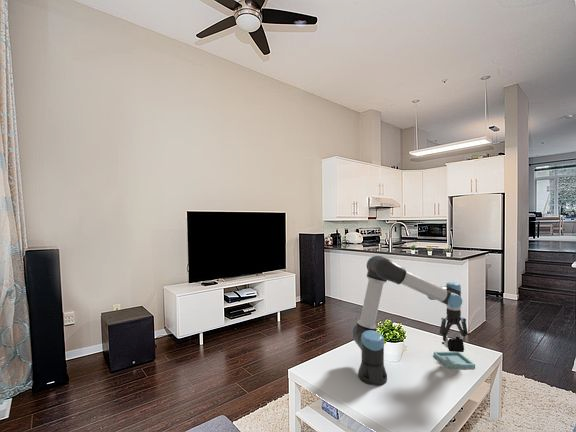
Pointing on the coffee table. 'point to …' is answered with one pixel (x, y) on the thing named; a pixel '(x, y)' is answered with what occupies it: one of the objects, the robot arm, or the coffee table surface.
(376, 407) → the coffee table surface
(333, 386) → the coffee table surface
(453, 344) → the toy
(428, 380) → the coffee table surface
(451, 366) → the tray
